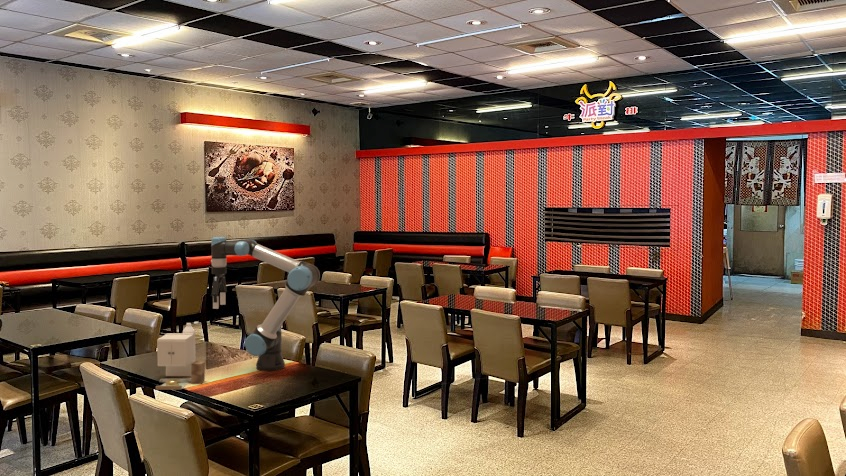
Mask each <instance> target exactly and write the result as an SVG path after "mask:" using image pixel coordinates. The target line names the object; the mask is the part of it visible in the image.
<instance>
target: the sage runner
mask: <svg viewBox="0 0 846 476" xmlns="http://www.w3.org/2000/svg"><path fill="white" fill-rule="evenodd" d="M169 379H191V377H187V378H186V377H182V378H180V377H178V378H177V377H175V378H174V377H171V378H169ZM188 384H189V383H179V386H166V382H163V383H162V384H160V385H156V386H155V390H156V391H157V390H162V391H163V390H167V391H170V390H173V391H174V390H176V391H177V390H181V391H182V389H184V388H185V387H186V386H187V385H188Z"/></svg>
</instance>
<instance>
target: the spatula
mask: <svg viewBox="0 0 846 476" xmlns="http://www.w3.org/2000/svg"><path fill="white" fill-rule="evenodd" d="M205 365H206V361H197V360H195V361H194V362H193V363H192V364H191V376H190V378H191V379H178V380H179V383H188V384H192V385H198V384H199V385H201V384H203V383H204V382H205V376H206V375H205V371H206V369H205V367H206V366H205ZM168 379H169V378H163V377H162V378H160V379H159V381H158V382H159V383H165V382H166V380H168Z"/></svg>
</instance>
